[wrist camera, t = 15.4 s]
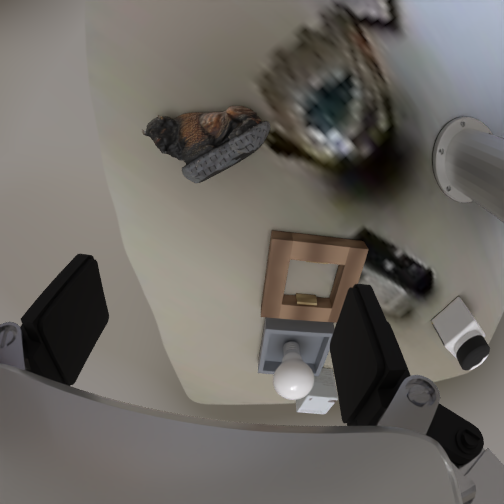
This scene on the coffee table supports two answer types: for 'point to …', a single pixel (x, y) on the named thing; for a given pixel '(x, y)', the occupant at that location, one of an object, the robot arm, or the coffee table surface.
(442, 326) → the medicine bottle
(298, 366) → the lightbulb
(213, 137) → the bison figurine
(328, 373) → the skincare box
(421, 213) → the coffee table surface
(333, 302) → the socket collar
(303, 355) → the tray
